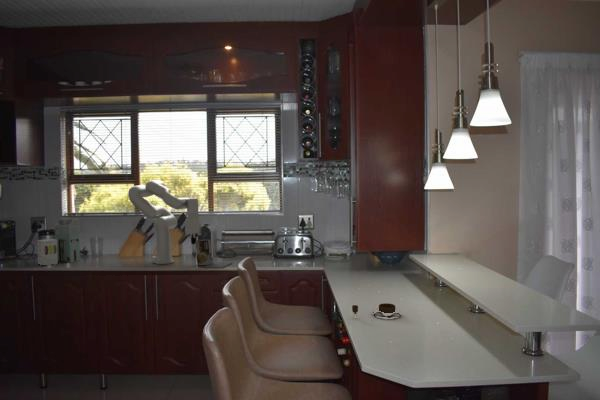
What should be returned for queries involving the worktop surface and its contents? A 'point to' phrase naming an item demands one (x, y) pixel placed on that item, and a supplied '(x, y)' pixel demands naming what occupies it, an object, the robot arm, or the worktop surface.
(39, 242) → the supplement box
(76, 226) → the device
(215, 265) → the mat
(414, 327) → the worktop surface
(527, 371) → the worktop surface
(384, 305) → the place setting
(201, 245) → the coffee box
